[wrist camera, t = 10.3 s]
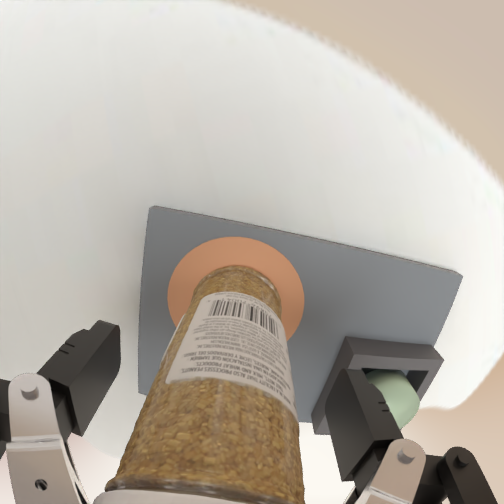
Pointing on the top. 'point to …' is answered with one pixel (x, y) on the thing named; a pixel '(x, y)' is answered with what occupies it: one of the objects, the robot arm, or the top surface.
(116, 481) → the sprinkles bottle
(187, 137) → the top surface
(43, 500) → the robot arm
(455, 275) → the slate board
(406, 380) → the button
